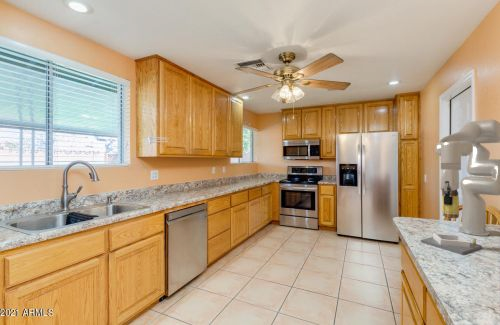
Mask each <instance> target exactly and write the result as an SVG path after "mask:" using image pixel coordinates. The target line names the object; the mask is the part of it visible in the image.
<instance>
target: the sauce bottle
mask: <svg viewBox="0 0 500 325" xmlns="http://www.w3.org/2000/svg"><path fill="white" fill-rule="evenodd" d="M448 190H450V189H448ZM459 196H460V195H459V192H458V189H456V190H454V191H452V197H453V205H445V204H444V189H443V190H441V207H442V208H441V212H442V213H441V214H442V216H443V217H445V218H450V219H458V218H459V217H460V200H459Z"/></svg>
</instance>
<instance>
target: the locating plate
mask: <svg viewBox="0 0 500 325" xmlns="http://www.w3.org/2000/svg"><path fill="white" fill-rule="evenodd" d="M420 243H422V244H426V245H429V246H432V247H436V248H438V249H443V250H445V251H449V252H452V253H456V254H459V255H465V254H468V253H472V252H475V251H478V250H480V249H481V250H482V249H483V245H482V244H477V238H474V237H473V238H472V242H470V241H468V239H466V238H464V237H463V236H462V235H457V234H447V233H446V234H445V233H435V232H434V233H432V236H430V237H427V238H423V239H421V240H420Z"/></svg>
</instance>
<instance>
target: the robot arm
mask: <svg viewBox="0 0 500 325" xmlns="http://www.w3.org/2000/svg"><path fill="white" fill-rule="evenodd" d="M497 143H498V144H499V143H500V122H499V121H498V120H496V119H485V120H475V121H474V120H473V121H469V122H467V123H465V124H464V125H463V127H462V128H461V129H460V130H459V131H457V132H454V133H452V134H449V135H446V136H444V137H442V138H441V139H440V140H439V141H438V142H437V143H436V145H435V147H434V151H435V154H436V155H437V156H439V157H440V170H441V175H440V187H439V188H440V190H441V191H442V190H443V189H444V204H445V205H453V197H452V191H454V190H456V189H457V190H458V189H459V188H460V190H461V195H462V196H461V197H462V200H461V202H462V203H461V204H462V207H461V208H462V209H461V213H462V214H461V216H462V217H461V222H462V224H461V227H458V231H459V232H461V233H463V234H467V235H470V236H479V237H487V236H488V237H489V236H490V232H489V231H488V230H486V229H487V228H488V225H487V224H486V221H487V220H486V218H487V217H486V215H487V214H486V211H487V210H486V208H487V207H486V205H487V204H486V201H485V199H484V198H483V197H482V195H483V196H484V195H487V196H500V159H496V158H495V159H494V158H493V159H492V158H490V154H491V152H490V151H489V149H488V148H487V147H485V146H484V145H482V144H497ZM467 156H468V161H467V166H466V171H467V174H468V175H471V176H464V177H462V178H461V180H460V173H459V172H460V171H461V170H462V157H467ZM448 189H450V190H448Z"/></svg>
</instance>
